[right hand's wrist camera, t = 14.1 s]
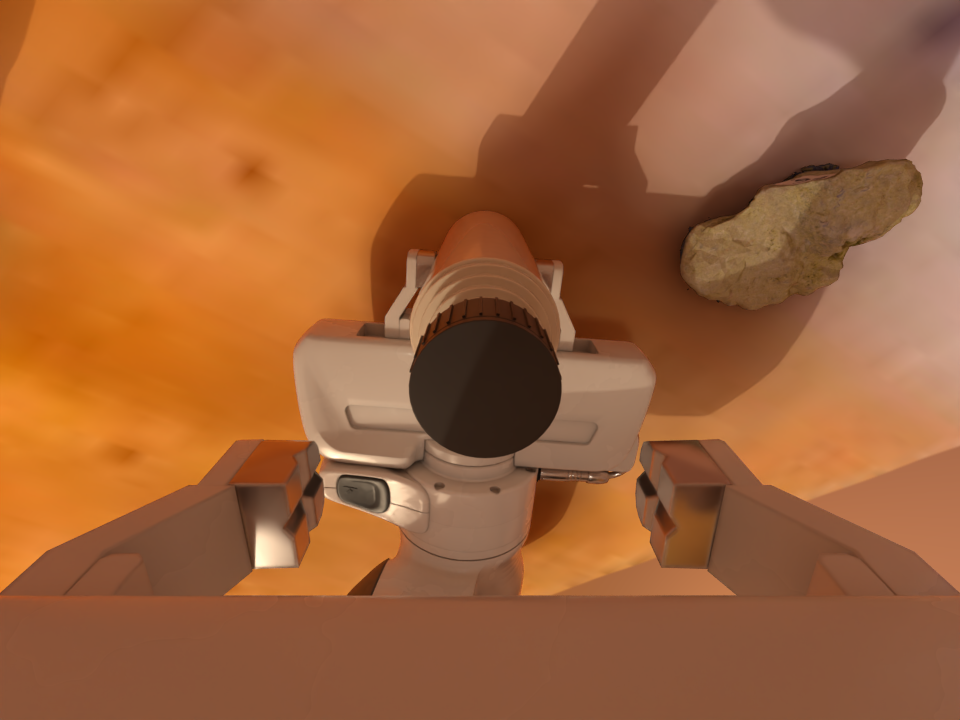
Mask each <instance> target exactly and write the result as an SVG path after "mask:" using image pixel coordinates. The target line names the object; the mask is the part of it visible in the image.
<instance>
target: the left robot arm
mask: <svg viewBox="0 0 960 720" xmlns="http://www.w3.org/2000/svg"><path fill="white" fill-rule="evenodd" d="M436 256H437V251H431V250H421V249H410V250H409V252H408V255H407V271H406V284H405V285H404V287H403V289H402V290H401V292H400V293H399V295H398V297H397V298H396V300H395V301H394V303H393V304H392V306H391V308H390V309H389V311H388V312H387V314H386V316H385V323H379V322H365V321H352V320H339V319H321V320H319V321H318V322H316V323H315V324H314V325H313V326H312V327H311V328H309V329H308V330H307V331H306V332H305V333H304V334H303V336H302V337H301V338H300V339H299V340H298V342H297V344H296V346H295V348H294V352H293V367H294V378H295V386H296V393H297V399H298V405H299V410H300V415H301V419H302V424H303V428H304V431H305V434H306V436H307V438H308V440H309V441H315V442H316V444H317V445H318V448H319V454H321V455H322V456H324V459H323V462H322V465H321V468H320V472H319V475H320V476H321V477H322V478H323V483H324V497H325V498H327V499H329V500H331V501H334V502H337V503H340V504H343V505H346V506H349V507H352V508H355V509H358V510H361V511H364V512H366V513H369V514H372V515H374V516H377V517H379V518H382V519H384V520H386V521H389V522H391V523H393V524H395V525H397V526H399V529H400V534H401V542H400V547H399V551H398V553H397V556H396V557H395V558H394V559H389V558H388V559H386V560H385V561H383V562H382V563H380V564H379V565H378V566H376V567H375V568H374V569H373V570H372V571H371V572H370V573H369V574H368V575H367V576H365V577H364V578H363V579H362V580H361V581H360V582H359V583H358V584H357V585H356V586H355V587H354V588H353V589H352V590H351V591H350V592H349V593H348V595H347V596H520V594H521V588H522V581H523V572H524V569H523V559H522V555H521V548H522V547H523V545H524V543H525V541H526V539H527V537H528V533H529V530H530V525H531V518H532V511H533V504H534V497H535V490H536V481H538V480H543V481H558V482H566V481H567V482H568V481H581V482H586V483H589V484H604V483H607V482H608V480H609V479H610V478H615V477H618V476H621V475H623V474H624V473H626V472H628V471H630V470H631V468H632V467H633V465H634V463H635V459H636V454H637V450H638V445H639V434H638V433H639V431H640V429H641V426H642V424H643V421H644V419H645V416H646V413H647V411H648V407H649V404H650V401H651V398H652V395H653V391H654V388H655V384H656V373H655V370H654V368H653V366H652V364H651V363H650V361H649V359H648V358H647V357H646V355H645V354H644V353H643V352H642V351H641V350H640V349H639V348H638V346H637V345H635V344H634V343H632V342H628V341H615V340H602V339H589V338H576V337H575V332H576V331H575V329H574V327H573V324H572V322H571V320H570V317H569V315H568V312H567V310H566V308H565V305H564V303H563V301H562V299H561V297H560V292H561V285H562V278H563V264H562V262H561V261H560V260H547V259H534V260H535V262H536V264H537V266H538V268H539V270H540V272H541V274H542V276H543V278H544V280H545V282H546V285H547V287H548V289H549V291H550V293H551V295H552V297H553V299H554V301H555V303H556V306H557V309H558V313H559V318H560V340H559V344H558V348H557V352H556V356H557V359H558V362H559V365H558V368H559V371H560V374H561V377H562V380H561V382H562V395H561V402H560V405H559V409H558V412H557V414H556V416H555V418H554V420H553V422H552V423H551V425H550V427H549V428H548V429H547V430H546V432H545V433H544V434H543V435H542V436H541V437H540V438H539V439H538V440H536V441H535V442H534V443H532V444H531V445H530V446H528V447H526V448H524V449H523V450H520V451H518V452H516V453H513V454H510V455H507V456H502V457H497V458H474V457H468V456H464V455H460V454H457V453H455V452H452V451H450V450H448V449H446V448H444V447H443V446H441V445H440V444H438V443H437V442H435V441H434V440H433V439H432V438H431V437H430V436H429V435H428V434H427V433H426V432H425V431H424V430H423V428H422V427H421V426H420V424H419V423H418V421H417V419H416V417H415V415H414V413H413V411H412V407H411V404H410V398H409V380H410V374H411V373H409V371H410V368H411V365H412V362H413V359H414V352H413V349H412V345H411V341H410V317H411V312H412V309H413V308H406V307H407V305H408V303H409V302H410V300H411V299H412V297H413V296H414V294H415V292H416V291H417V289H418V288H422V286H423V284H424V282H425V280H426V277H427V275H428V273H429V271H430V269H431V267H432V265H433V263H434V260H435V258H436ZM405 308H406V309H405ZM609 471H613V472H609Z"/></svg>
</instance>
